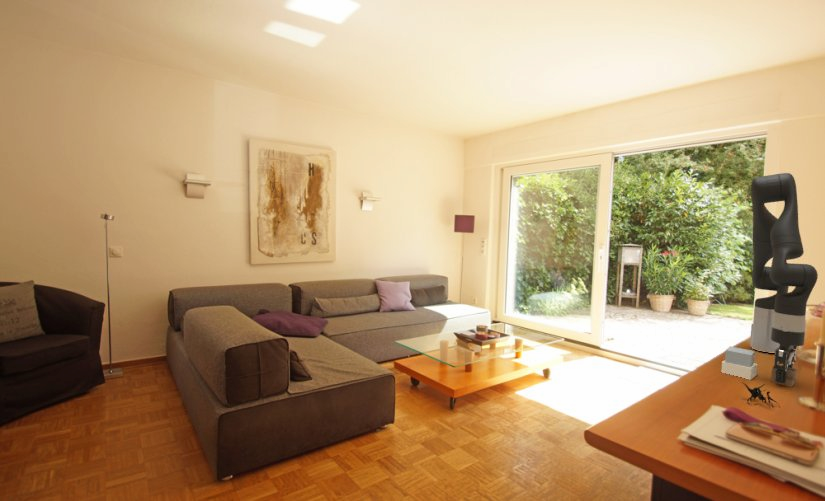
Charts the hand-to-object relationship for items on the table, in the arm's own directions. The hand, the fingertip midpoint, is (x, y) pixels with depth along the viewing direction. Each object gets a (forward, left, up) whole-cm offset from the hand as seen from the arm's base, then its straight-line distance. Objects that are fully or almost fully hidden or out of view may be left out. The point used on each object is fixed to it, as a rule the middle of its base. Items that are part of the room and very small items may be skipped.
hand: (783, 379), depth 124 cm
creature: (+18, -19, -1) cm, 26 cm away
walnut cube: (0, 0, -1) cm, 1 cm away
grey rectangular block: (-6, -9, +3) cm, 11 cm away
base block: (-6, -9, -1) cm, 11 cm away
